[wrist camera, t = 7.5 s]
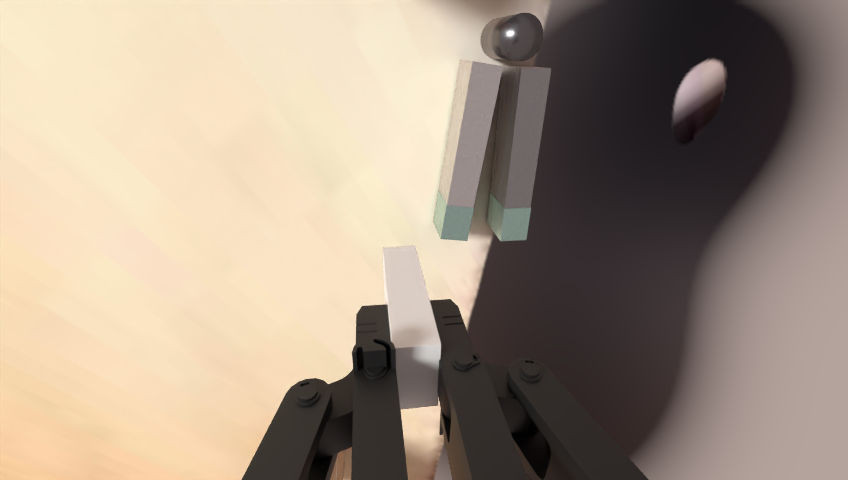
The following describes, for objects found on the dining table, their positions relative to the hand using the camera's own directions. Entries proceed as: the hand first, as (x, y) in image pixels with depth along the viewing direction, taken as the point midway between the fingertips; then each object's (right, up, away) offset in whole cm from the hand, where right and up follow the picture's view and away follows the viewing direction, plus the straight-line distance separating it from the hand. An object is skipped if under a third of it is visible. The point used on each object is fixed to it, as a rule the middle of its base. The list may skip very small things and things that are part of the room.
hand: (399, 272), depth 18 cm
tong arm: (+4, +10, +17) cm, 20 cm away
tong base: (+8, +12, +17) cm, 22 cm away
